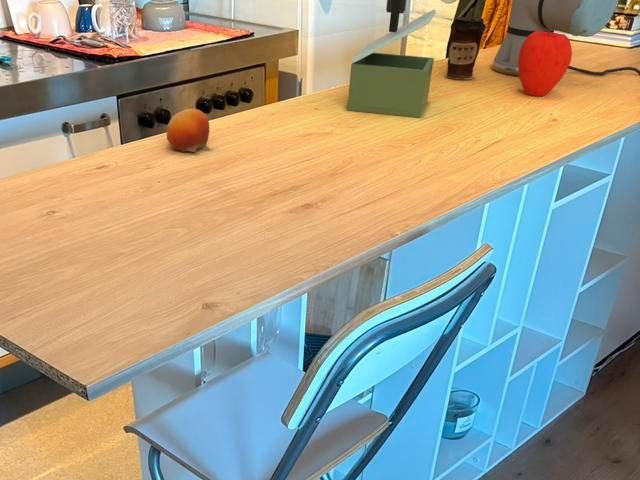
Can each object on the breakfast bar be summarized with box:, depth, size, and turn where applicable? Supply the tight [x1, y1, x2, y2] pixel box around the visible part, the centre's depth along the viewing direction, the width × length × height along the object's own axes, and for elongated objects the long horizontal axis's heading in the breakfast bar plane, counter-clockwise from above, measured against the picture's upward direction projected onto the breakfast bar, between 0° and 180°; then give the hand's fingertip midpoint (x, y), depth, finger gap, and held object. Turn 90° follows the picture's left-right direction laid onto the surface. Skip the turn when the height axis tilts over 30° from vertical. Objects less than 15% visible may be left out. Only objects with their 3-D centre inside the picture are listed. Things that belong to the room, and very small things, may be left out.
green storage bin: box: [346, 52, 435, 119], centre depth 178 cm, size 16×14×9 cm
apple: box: [518, 30, 573, 97], centre depth 189 cm, size 12×12×13 cm
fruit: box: [166, 108, 210, 153], centre depth 151 cm, size 8×8×8 cm
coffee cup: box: [446, 16, 487, 80], centre depth 200 cm, size 9×8×13 cm
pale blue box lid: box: [350, 9, 437, 64], centre depth 172 cm, size 17×14×1 cm
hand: (393, 30), depth 172 cm, fingers closed
